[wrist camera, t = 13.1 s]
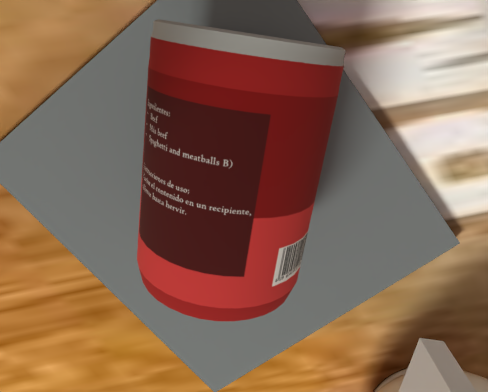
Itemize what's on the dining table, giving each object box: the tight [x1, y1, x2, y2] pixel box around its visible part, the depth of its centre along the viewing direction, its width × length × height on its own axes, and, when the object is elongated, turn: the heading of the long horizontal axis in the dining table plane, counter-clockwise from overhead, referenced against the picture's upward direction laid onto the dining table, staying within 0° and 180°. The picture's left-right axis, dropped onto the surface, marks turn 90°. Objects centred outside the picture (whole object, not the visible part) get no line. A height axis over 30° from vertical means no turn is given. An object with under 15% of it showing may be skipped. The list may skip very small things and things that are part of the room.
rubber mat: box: [0, 0, 460, 392], centre depth 24 cm, size 20×18×1 cm
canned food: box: [137, 19, 346, 321], centre depth 19 cm, size 8×8×11 cm
